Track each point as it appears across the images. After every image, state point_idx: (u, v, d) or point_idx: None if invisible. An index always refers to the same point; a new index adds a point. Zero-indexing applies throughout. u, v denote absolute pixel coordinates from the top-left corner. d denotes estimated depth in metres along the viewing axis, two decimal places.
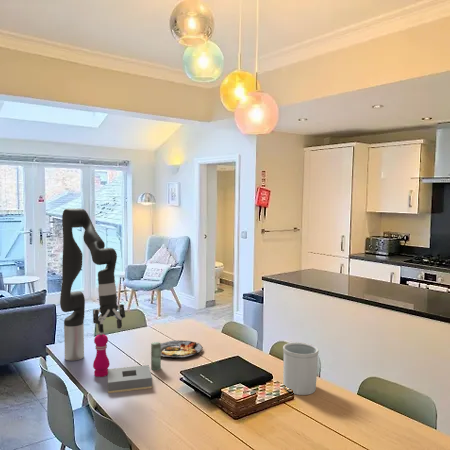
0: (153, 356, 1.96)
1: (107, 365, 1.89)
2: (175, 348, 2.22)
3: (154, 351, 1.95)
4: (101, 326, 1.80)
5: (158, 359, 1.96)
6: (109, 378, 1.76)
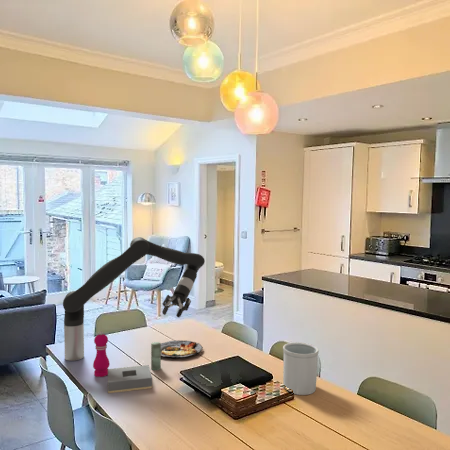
0: (153, 356, 1.96)
1: (107, 365, 1.89)
2: (175, 348, 2.22)
3: (154, 351, 1.95)
4: None
5: (158, 359, 1.96)
6: (109, 378, 1.76)
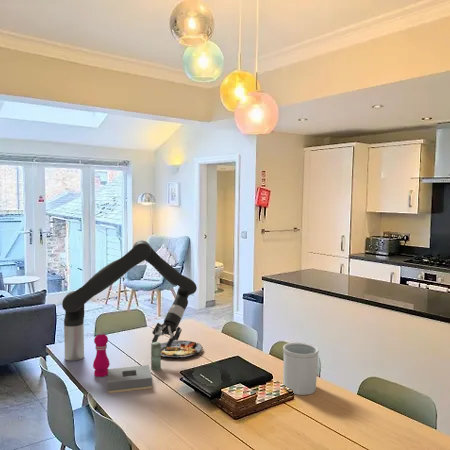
0: (153, 356, 1.96)
1: (107, 365, 1.89)
2: (175, 348, 2.22)
3: (154, 351, 1.95)
4: None
5: (158, 359, 1.96)
6: (109, 378, 1.76)
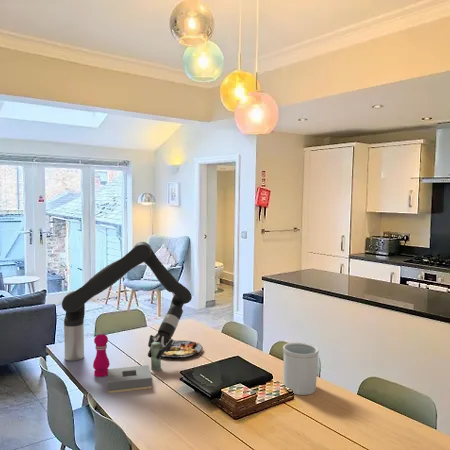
0: (153, 356, 1.96)
1: (107, 365, 1.89)
2: (175, 348, 2.22)
3: (154, 351, 1.95)
4: None
5: None
6: (109, 378, 1.76)
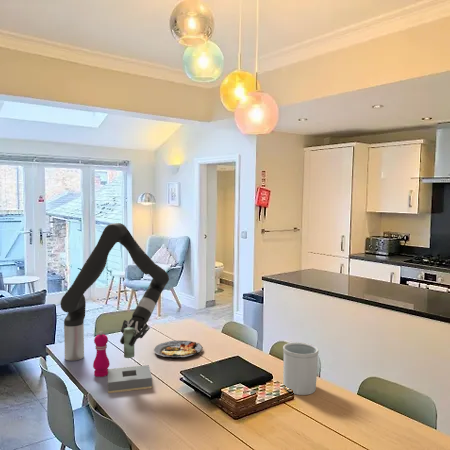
0: (126, 342, 1.79)
1: (107, 365, 1.89)
2: (175, 348, 2.22)
3: (127, 337, 1.78)
4: None
5: (132, 346, 1.79)
6: (109, 378, 1.76)
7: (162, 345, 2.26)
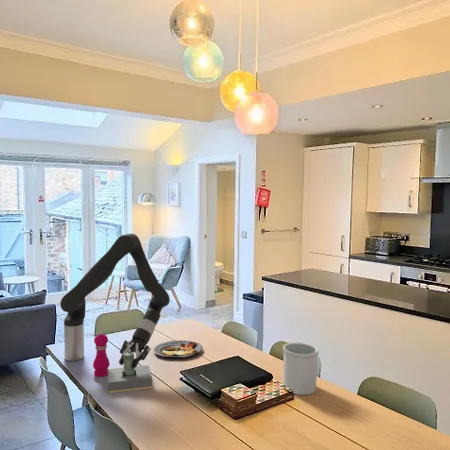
0: (126, 368, 1.79)
1: (107, 365, 1.89)
2: (175, 348, 2.22)
3: (126, 363, 1.79)
4: None
5: (132, 371, 1.80)
6: (109, 378, 1.76)
7: (162, 345, 2.26)
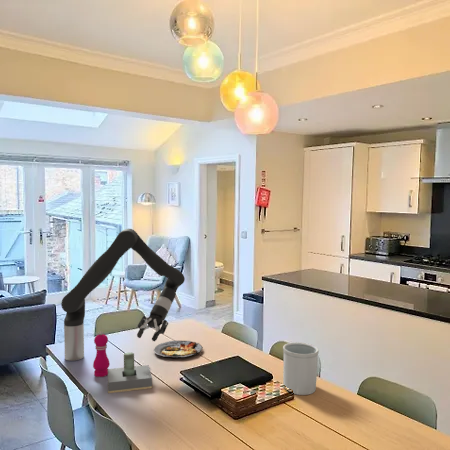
0: (126, 368, 1.80)
1: (107, 365, 1.89)
2: (175, 348, 2.22)
3: (127, 362, 1.79)
4: None
5: (132, 371, 1.80)
6: (109, 378, 1.76)
7: (162, 345, 2.25)
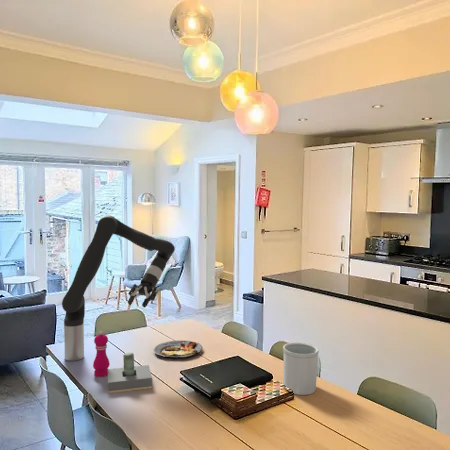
0: (126, 368, 1.79)
1: (107, 365, 1.89)
2: (175, 348, 2.22)
3: (126, 363, 1.79)
4: None
5: (132, 371, 1.80)
6: (109, 378, 1.76)
7: (162, 345, 2.25)
